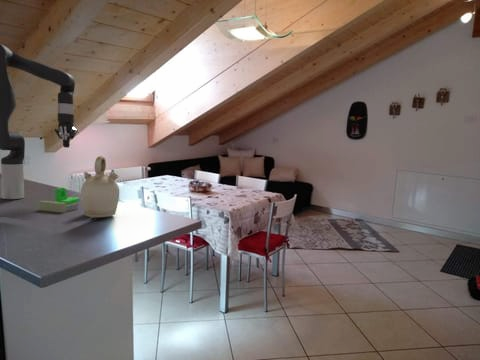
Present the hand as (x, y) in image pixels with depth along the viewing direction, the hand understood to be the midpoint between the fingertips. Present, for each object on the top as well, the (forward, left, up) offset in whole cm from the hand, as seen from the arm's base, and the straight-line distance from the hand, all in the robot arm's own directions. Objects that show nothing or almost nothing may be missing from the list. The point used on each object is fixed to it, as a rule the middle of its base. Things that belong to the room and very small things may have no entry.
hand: (66, 147), depth 178 cm
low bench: (+16, -20, -27) cm, 37 cm away
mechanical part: (+8, -7, -27) cm, 29 cm away
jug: (+38, -23, -27) cm, 52 cm away
